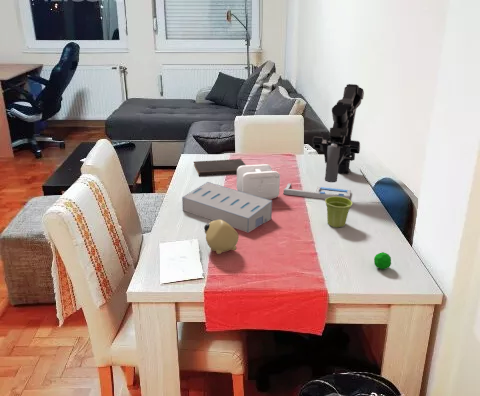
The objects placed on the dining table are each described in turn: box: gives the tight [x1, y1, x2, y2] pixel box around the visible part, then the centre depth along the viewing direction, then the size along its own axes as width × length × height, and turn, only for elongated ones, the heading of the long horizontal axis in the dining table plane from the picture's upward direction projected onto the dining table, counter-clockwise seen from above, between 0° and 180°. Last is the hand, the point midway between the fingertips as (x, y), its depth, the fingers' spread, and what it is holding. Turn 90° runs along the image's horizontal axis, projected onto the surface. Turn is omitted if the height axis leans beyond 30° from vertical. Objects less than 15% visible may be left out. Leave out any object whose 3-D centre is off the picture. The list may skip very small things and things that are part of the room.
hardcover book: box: [193, 158, 246, 177], centre depth 230 cm, size 16×23×2 cm
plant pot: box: [324, 197, 353, 228], centre depth 175 cm, size 9×9×9 cm
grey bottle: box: [324, 144, 340, 183], centre depth 199 cm, size 5×5×15 cm
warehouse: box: [181, 181, 273, 233], centre depth 181 cm, size 30×14×8 cm, turn 53°
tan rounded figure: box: [203, 219, 239, 255], centre depth 155 cm, size 10×12×11 cm
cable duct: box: [283, 182, 351, 200], centre depth 204 cm, size 12×26×2 cm, turn 74°
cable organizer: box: [236, 163, 281, 200], centre depth 198 cm, size 15×11×12 cm
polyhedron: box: [373, 251, 392, 270], centre depth 148 cm, size 5×5×5 cm
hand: (332, 163), depth 198 cm, fingers closed on grey bottle, 5 cm apart
